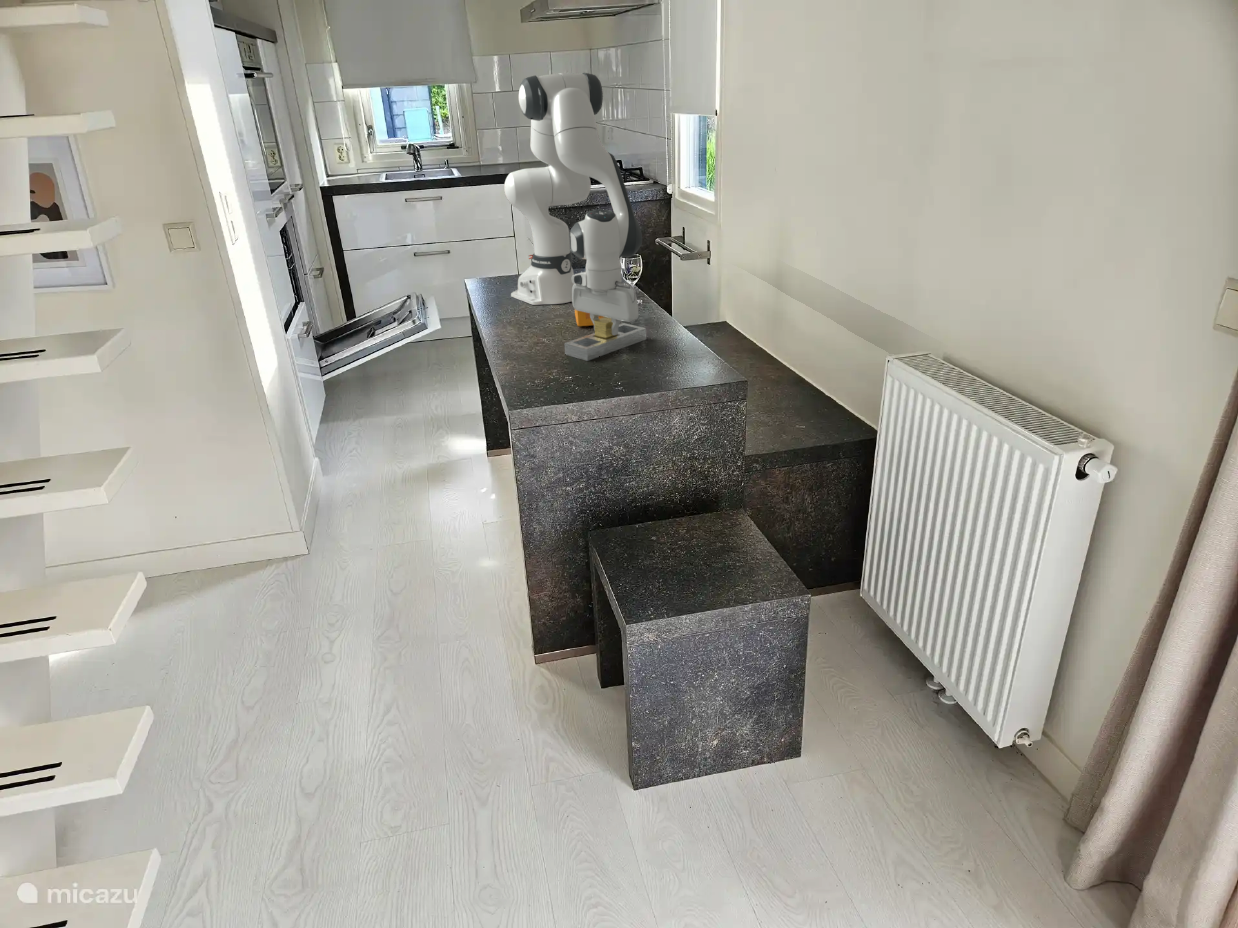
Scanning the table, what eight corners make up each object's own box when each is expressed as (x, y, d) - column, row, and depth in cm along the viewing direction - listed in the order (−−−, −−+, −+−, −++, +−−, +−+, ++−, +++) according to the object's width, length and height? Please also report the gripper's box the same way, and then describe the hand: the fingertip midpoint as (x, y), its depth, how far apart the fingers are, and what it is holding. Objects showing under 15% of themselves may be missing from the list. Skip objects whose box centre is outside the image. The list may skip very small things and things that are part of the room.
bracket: (604, 327, 225) (602, 284, 220) (578, 329, 225) (576, 286, 219) (600, 316, 235) (598, 275, 230) (575, 318, 234) (572, 277, 229)
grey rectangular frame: (565, 354, 205) (564, 343, 204) (623, 333, 219) (623, 323, 218) (587, 361, 200) (586, 349, 199) (646, 339, 214) (646, 328, 213)
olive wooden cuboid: (595, 339, 209) (594, 320, 206) (605, 335, 211) (605, 317, 209) (606, 342, 206) (605, 323, 204) (617, 338, 209) (616, 319, 206)
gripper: (643, 282, 197) (644, 337, 204) (584, 271, 210) (586, 323, 216) (626, 287, 193) (627, 343, 199) (566, 275, 206) (569, 328, 212)
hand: (605, 332), depth 208 cm, fingers closed on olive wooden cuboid, 4 cm apart
